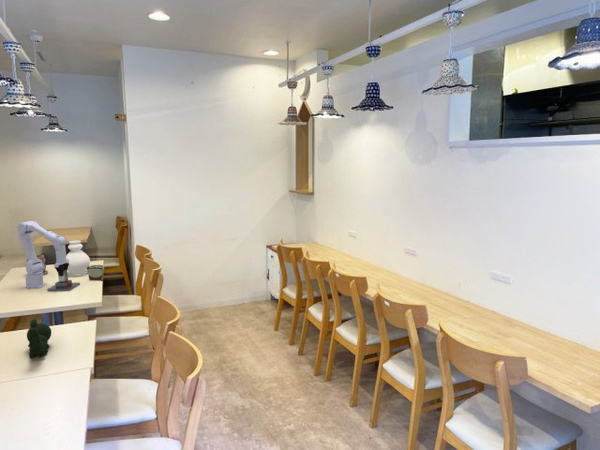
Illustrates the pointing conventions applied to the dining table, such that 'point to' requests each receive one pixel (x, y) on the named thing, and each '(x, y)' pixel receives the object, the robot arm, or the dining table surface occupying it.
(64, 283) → the base
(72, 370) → the dining table surface
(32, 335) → the dark green bumpy clump
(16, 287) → the dining table surface
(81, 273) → the decorative vase
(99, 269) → the food container
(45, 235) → the robot arm
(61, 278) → the block
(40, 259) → the tankard
